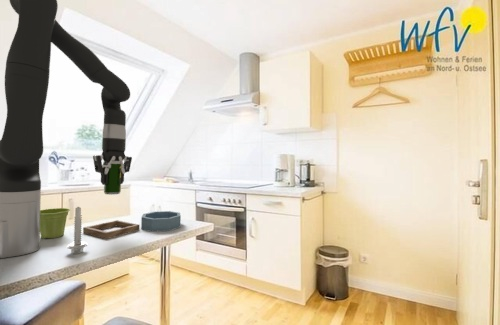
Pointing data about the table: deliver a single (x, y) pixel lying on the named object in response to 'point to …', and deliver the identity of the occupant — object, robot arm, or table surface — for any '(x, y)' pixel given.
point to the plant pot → (53, 222)
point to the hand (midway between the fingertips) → (112, 184)
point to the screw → (77, 234)
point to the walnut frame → (97, 231)
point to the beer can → (113, 178)
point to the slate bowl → (160, 221)
